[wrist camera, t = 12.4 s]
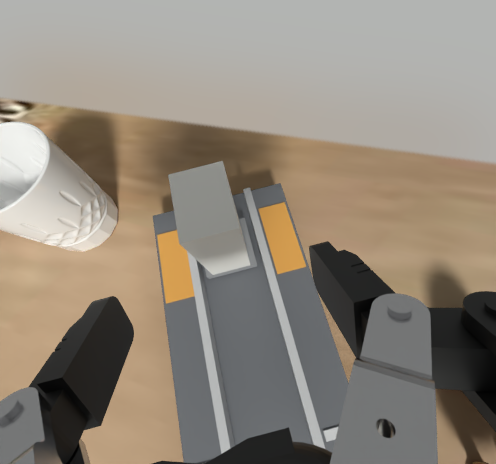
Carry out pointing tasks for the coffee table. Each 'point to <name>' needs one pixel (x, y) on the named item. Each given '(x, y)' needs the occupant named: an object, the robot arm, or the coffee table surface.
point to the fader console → (249, 338)
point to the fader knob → (210, 220)
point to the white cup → (49, 193)
